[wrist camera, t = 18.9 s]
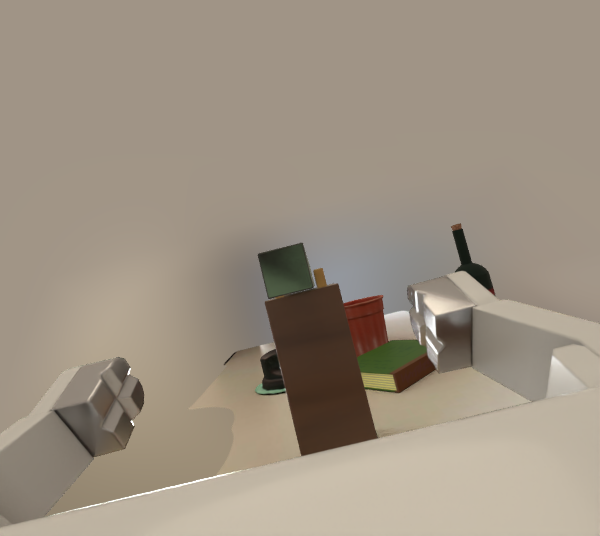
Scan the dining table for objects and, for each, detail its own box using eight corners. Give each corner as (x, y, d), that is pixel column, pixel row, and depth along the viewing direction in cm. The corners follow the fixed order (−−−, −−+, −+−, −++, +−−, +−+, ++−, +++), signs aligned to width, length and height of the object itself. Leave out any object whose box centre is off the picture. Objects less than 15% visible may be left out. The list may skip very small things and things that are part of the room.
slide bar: (313, 288, 21) (302, 242, 21) (268, 299, 21) (257, 253, 22) (314, 285, 51) (309, 266, 51) (295, 290, 51) (290, 271, 51)
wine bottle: (456, 355, 80) (423, 234, 82) (498, 344, 80) (464, 223, 81) (472, 362, 72) (435, 228, 74) (519, 351, 72) (481, 217, 74)
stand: (409, 519, 33) (343, 262, 34) (309, 542, 33) (249, 285, 34) (373, 430, 53) (333, 270, 54) (311, 444, 53) (273, 284, 54)
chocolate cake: (297, 363, 108) (342, 367, 93) (262, 412, 97) (306, 425, 82) (270, 329, 104) (312, 327, 89) (230, 376, 93) (270, 383, 78)
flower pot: (334, 358, 107) (321, 309, 108) (373, 343, 115) (361, 297, 116) (365, 362, 93) (351, 306, 94) (407, 345, 101) (394, 293, 101)
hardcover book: (399, 392, 65) (394, 373, 66) (334, 384, 80) (331, 369, 80) (460, 352, 81) (456, 337, 81) (397, 352, 95) (393, 339, 96)
